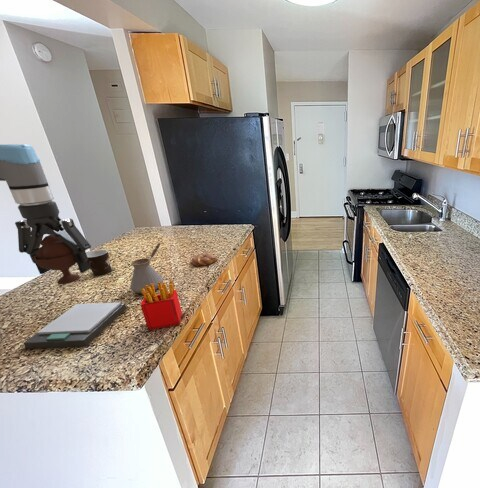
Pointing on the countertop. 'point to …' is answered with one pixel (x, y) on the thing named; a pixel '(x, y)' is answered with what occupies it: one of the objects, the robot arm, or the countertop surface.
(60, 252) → the ice cream bowl
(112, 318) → the scale
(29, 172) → the robot arm
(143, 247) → the countertop surface
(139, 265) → the coffee pot
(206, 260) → the pretzel
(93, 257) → the coffee mug
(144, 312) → the french fries container
